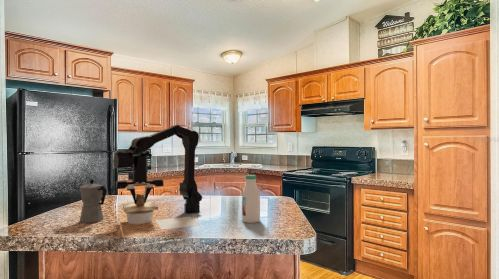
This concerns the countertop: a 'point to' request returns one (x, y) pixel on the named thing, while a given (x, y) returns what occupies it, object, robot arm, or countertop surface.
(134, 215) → the ramekin
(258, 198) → the milk bottle
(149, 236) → the countertop surface
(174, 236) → the countertop surface
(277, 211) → the countertop surface
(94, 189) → the coffeepot
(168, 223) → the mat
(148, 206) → the board
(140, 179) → the robot arm
